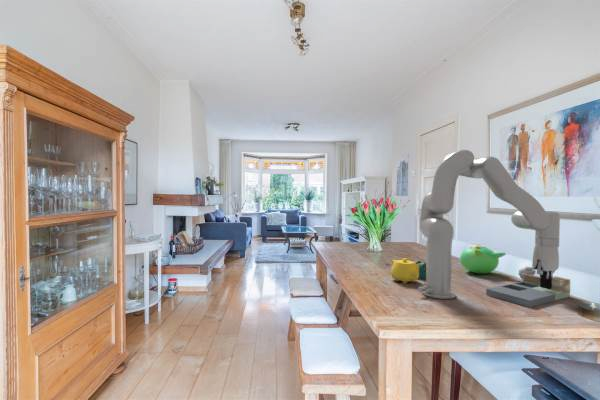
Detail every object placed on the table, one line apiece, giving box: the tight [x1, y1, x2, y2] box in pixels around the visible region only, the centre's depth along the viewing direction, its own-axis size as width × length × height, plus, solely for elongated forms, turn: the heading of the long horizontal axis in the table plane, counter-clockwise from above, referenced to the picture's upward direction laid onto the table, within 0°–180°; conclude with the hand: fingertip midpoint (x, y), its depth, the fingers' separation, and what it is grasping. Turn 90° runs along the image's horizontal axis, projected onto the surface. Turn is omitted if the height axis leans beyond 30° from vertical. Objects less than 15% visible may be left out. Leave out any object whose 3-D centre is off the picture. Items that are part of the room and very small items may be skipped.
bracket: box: [412, 260, 426, 280], centre depth 157 cm, size 18×7×8 cm, turn 114°
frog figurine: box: [518, 266, 537, 281], centre depth 147 cm, size 6×7×7 cm
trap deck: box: [485, 274, 571, 308], centre depth 124 cm, size 28×16×6 cm, turn 116°
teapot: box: [390, 258, 421, 285], centre depth 146 cm, size 18×11×11 cm, turn 28°
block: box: [548, 275, 571, 293], centre depth 123 cm, size 5×5×5 cm
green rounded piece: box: [459, 244, 507, 274], centre depth 162 cm, size 18×17×15 cm
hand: (545, 287), depth 123 cm, fingers closed
